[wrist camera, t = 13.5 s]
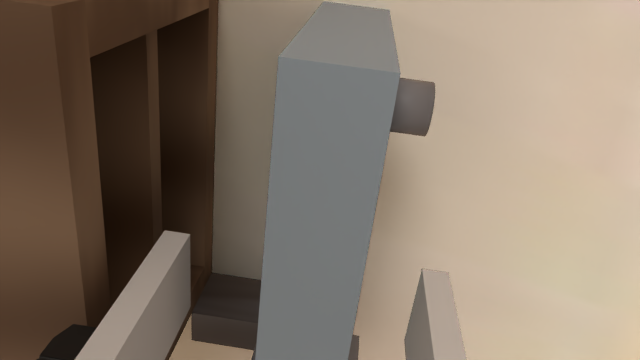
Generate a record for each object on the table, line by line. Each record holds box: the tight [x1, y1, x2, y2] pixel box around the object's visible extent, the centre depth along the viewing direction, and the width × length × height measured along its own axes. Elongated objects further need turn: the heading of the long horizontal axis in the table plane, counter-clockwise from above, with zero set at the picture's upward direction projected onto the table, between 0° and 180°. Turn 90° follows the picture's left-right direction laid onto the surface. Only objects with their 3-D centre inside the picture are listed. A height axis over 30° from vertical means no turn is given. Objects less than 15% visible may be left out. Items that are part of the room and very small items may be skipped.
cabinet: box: [0, 0, 261, 360], centre depth 17 cm, size 17×16×12 cm
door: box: [251, 2, 435, 360], centre depth 19 cm, size 17×5×10 cm, turn 174°
